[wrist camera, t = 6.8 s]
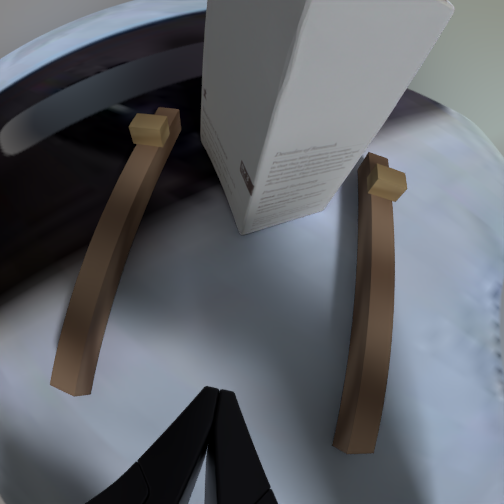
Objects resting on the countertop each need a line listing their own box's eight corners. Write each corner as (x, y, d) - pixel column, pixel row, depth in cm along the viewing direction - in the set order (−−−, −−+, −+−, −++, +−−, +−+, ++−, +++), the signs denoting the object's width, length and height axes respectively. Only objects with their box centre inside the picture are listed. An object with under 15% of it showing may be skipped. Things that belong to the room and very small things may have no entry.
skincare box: (199, 141, 19) (201, -76, 6) (277, 124, 21) (324, -64, 7) (243, 245, 17) (310, -62, 3) (333, 215, 18) (464, -1, 4)
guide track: (360, 445, 13) (393, 458, 9) (64, 382, 12) (29, 382, 9) (378, 176, 20) (400, 146, 17) (159, 127, 19) (152, 90, 16)
